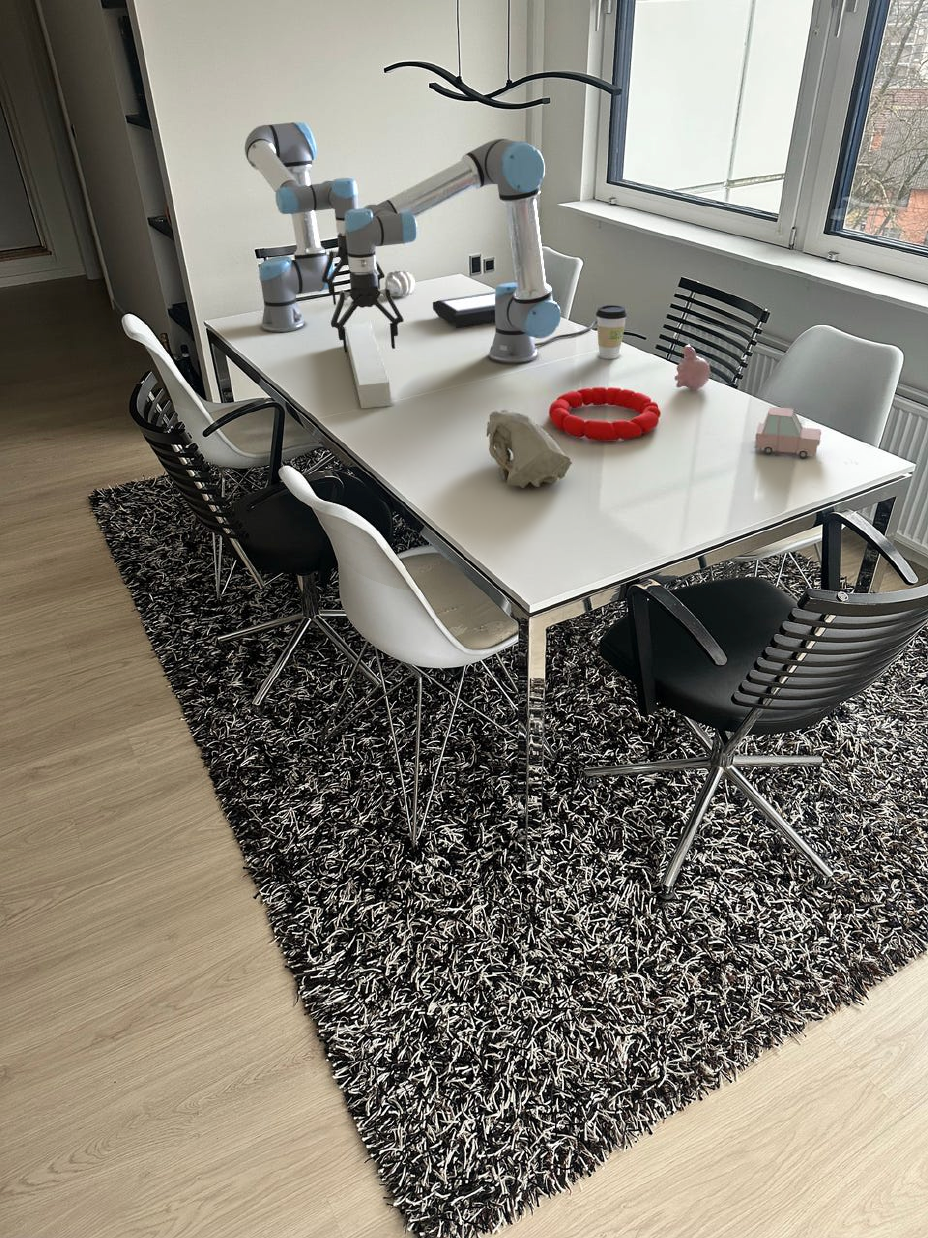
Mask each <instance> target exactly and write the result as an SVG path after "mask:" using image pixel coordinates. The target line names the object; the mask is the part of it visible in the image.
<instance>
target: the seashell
mask: <svg viewBox="0 0 928 1238" xmlns="http://www.w3.org/2000/svg"><path fill="white" fill-rule="evenodd" d="M415 285H416V283H415V278H414V277H413V275H412V273H409V271H405V270H395V271H391V272H388V273H387V275H386V276H385V283H384V286H385V288H386V287H388V288H389V290H390V295H391V297H394V298H397V297H407V296H408V295H410V294H411V293H412V292H413V291H414V288H415Z"/></svg>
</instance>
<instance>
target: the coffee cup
mask: <svg viewBox="0 0 928 1238" xmlns="http://www.w3.org/2000/svg"><path fill="white" fill-rule="evenodd" d="M595 316H596V317H597V319H596V320H598V323H596V325H597V343H598V350H599V351H598V353H599V355H598V356H599V357H600V358H602V359H606V360H611V359H617V358H618V357H619V356H620V351H621V346H622V341H623V336H624V331H625V325H626V319H627V317H628V312H627V308H626V307H625V306H623V305H620V304H619V305H618V304H604V305H600V306H599V307H598V309H597V311H596V313H595Z"/></svg>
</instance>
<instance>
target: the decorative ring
mask: <svg viewBox="0 0 928 1238" xmlns="http://www.w3.org/2000/svg"><path fill="white" fill-rule="evenodd" d="M583 405H584V406H586V407H587V406H591V405H593V406H604V405H608V406H614V407H619V408H624V409H628V410H632V411H635V412H636V413H638V414H639V415H637V416H635V417H632V418H631V419H630V420H625V419H624V420H623V419H622V420H614V421H611V422H609V421H607V420H606V421H605V420H593V419H587V420H586V421H585V419H584V418H582V417H579V416H577V415H573V414H571V413H570V410H571V409H579V408H581V407H582V406H583ZM548 416H549V419H550V422H551V423H552V425H553V426H554V427H555V428H556V429H558V430H559V431H561V432H563V433H567V434H568V435H569V436H573V437H576V438H580V439H582V438H583V437H585V438H586V439H587V440H591V441H601V442H602V441H603V442H608V441H609V442H610V441H611V442H612V441H615V442H616V441H618V440H630V439H634V438H638V437H641V436H642V434H647V433H650V432H651V431H653V430H654V429H655V428H656V427H657V426H658V424H659V422H660V421H659V420H660V417H661V410H660V408H659V405H658V403H657V402H656V401H652V399H651V397H649V396H648V395H646V394H644V393H642V392H635V391H634V390H632V389H628V388H624V389H622V388H620V387H613V386H612V387H611V386H610V387H608V388H606V387H604V386H594V387H585V388H584V387H583V388H580V389H578V390H571V391H568V392H565V393H563V394H561V395H560V396H558V397H557V398H556V400H554V401H552V403H551V404H550V407H549V409H548Z"/></svg>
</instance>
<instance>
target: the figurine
mask: <svg viewBox="0 0 928 1238" xmlns="http://www.w3.org/2000/svg"><path fill="white" fill-rule="evenodd" d="M682 354H683V358H684V359H683V361H682V362H679V363H678V364H677V365H676V372H677V375H675V376H674V381H675V382H676V381H677V382H676V384H675V386H676V388H681V387H686V388H688V389H693V390H694V389H695V390H696V389H700V388H703V387H704V386H705V385H706V384H707V383H708V382H709V379H710V377H711V367H710V364H709V362H708V361H706V359H704V358H702V357H700V356H697V353H696V350H695V349H694V347H692V345H690V344H686V345H685V346H684V347H683V348H682Z"/></svg>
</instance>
